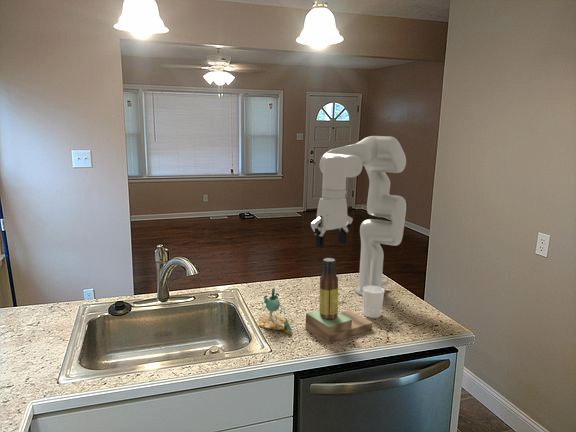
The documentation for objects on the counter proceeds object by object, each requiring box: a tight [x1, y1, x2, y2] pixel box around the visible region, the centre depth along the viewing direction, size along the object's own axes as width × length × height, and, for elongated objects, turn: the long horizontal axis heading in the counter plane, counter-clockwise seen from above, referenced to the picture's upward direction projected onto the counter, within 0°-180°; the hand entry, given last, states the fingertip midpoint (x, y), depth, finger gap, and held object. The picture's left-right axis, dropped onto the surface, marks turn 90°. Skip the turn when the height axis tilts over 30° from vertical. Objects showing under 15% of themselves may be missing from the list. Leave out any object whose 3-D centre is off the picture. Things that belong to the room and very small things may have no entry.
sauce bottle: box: [319, 257, 339, 319], centre depth 142 cm, size 7×6×20 cm
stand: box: [304, 308, 374, 345], centre depth 147 cm, size 20×12×6 cm, turn 125°
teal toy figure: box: [258, 287, 293, 336], centre depth 148 cm, size 10×18×15 cm, turn 30°
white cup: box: [362, 286, 385, 319], centre depth 160 cm, size 8×8×10 cm
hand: (331, 245), depth 142 cm, fingers open, 9 cm apart
